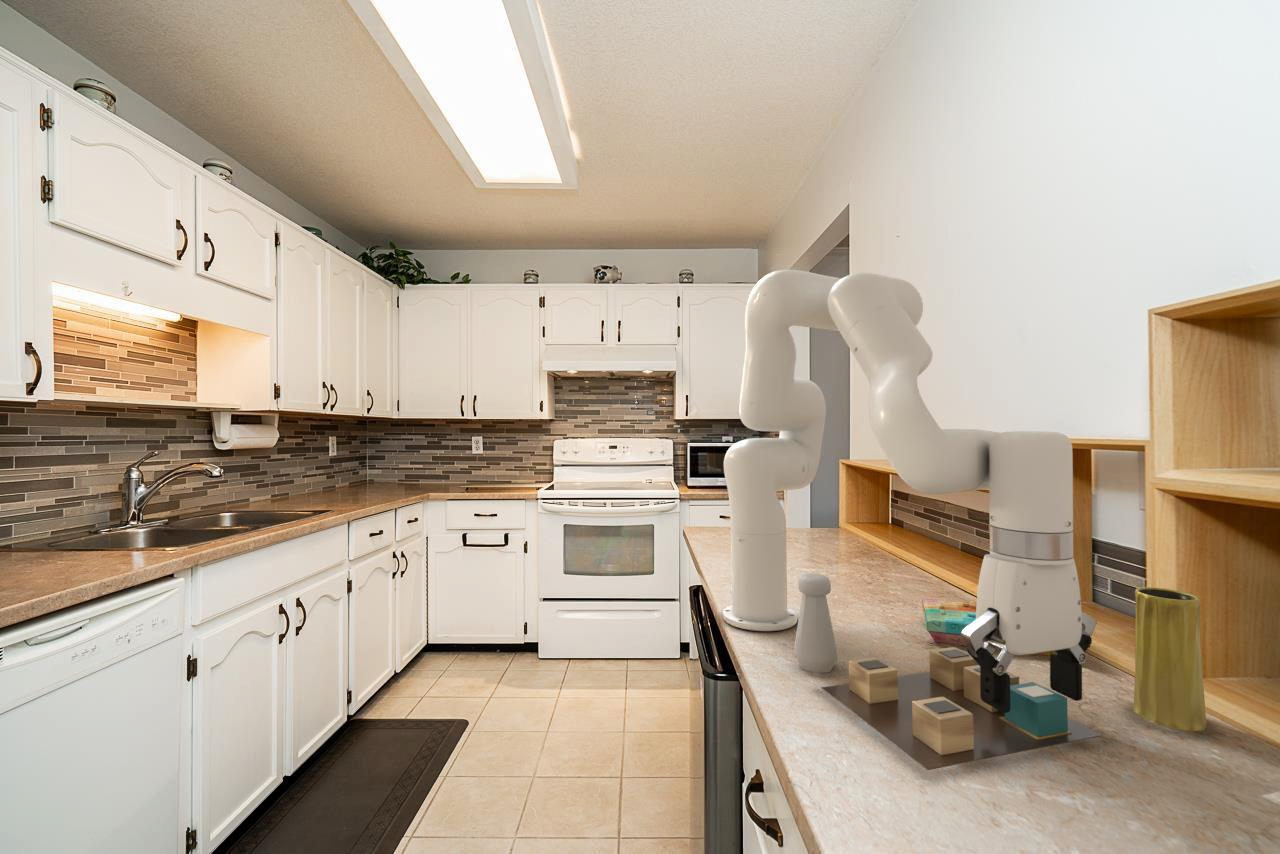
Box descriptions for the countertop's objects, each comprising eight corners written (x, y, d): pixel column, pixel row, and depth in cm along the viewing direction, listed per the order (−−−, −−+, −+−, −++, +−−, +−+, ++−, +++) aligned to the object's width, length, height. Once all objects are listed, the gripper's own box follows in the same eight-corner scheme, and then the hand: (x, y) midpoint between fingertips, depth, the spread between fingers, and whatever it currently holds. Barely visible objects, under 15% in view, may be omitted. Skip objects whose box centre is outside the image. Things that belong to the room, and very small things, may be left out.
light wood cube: (849, 689, 71) (848, 659, 71) (876, 685, 72) (876, 656, 72) (869, 704, 67) (869, 672, 67) (898, 699, 68) (898, 668, 68)
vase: (1215, 742, 59) (1213, 604, 59) (1138, 726, 62) (1135, 596, 62) (1197, 716, 64) (1195, 590, 64) (1127, 703, 67) (1125, 583, 67)
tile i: (929, 677, 74) (929, 649, 74) (954, 674, 75) (954, 645, 75) (953, 691, 70) (953, 661, 70) (980, 687, 71) (979, 657, 71)
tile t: (963, 696, 68) (963, 666, 68) (990, 692, 69) (989, 662, 69) (991, 712, 64) (991, 680, 64) (1019, 707, 65) (1019, 675, 65)
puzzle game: (921, 594, 96) (1064, 607, 88) (922, 622, 96) (1065, 638, 88) (926, 615, 85) (1089, 632, 78) (927, 646, 85) (1090, 667, 78)
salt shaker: (840, 665, 79) (839, 572, 79) (835, 682, 74) (834, 582, 74) (797, 658, 82) (796, 568, 82) (790, 674, 76) (789, 578, 77)
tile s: (1004, 718, 63) (1004, 685, 63) (1033, 713, 64) (1032, 680, 64) (1038, 737, 59) (1037, 701, 59) (1068, 731, 60) (1067, 696, 60)
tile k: (912, 735, 60) (911, 700, 60) (943, 729, 61) (943, 695, 61) (941, 755, 56) (940, 718, 56) (974, 749, 57) (973, 712, 57)
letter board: (821, 692, 71) (820, 686, 71) (964, 671, 77) (964, 666, 77) (927, 775, 54) (927, 768, 54) (1102, 741, 59) (1102, 734, 59)
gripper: (1058, 533, 68) (1059, 676, 68) (937, 542, 63) (938, 695, 63) (1126, 546, 60) (1127, 706, 60) (995, 557, 56) (996, 729, 56)
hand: (1031, 700), depth 62 cm, fingers open, 9 cm apart
